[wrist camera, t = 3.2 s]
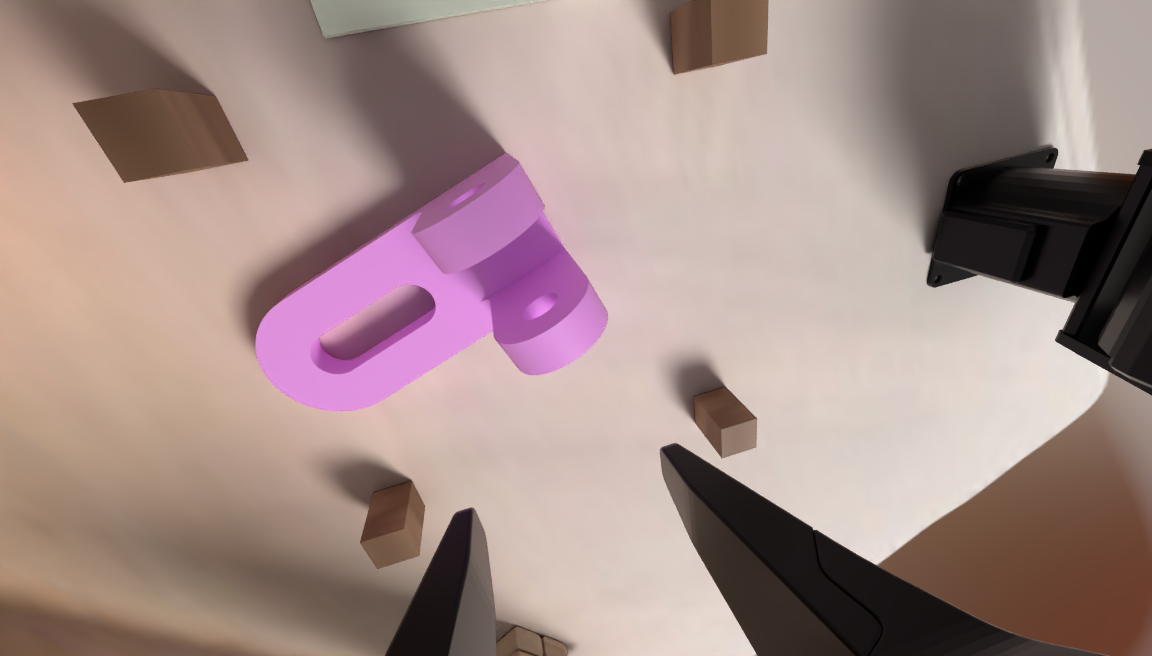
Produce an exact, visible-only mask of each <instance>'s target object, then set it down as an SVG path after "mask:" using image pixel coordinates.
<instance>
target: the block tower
mask: <svg viewBox="0 0 1152 656" xmlns="http://www.w3.org/2000/svg"><path fill="white" fill-rule="evenodd" d="M496 656H567V650H566V646H565V645H564V644H563V643H560V642H558V641H556V640H553V639H551V638H548V637H546V636H544V637H543V638H540V636H539V635H537V634H536V633H533V632H531V631H528V630H526V629H523V628H521V627H518V626H517V627H515V628H514V629H513V630H511V631H510V632H509V633H508V634H507V635H505V636H504V637H503V638H502V639H501V640H500V641H498V642H497V643H496Z"/></svg>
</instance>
